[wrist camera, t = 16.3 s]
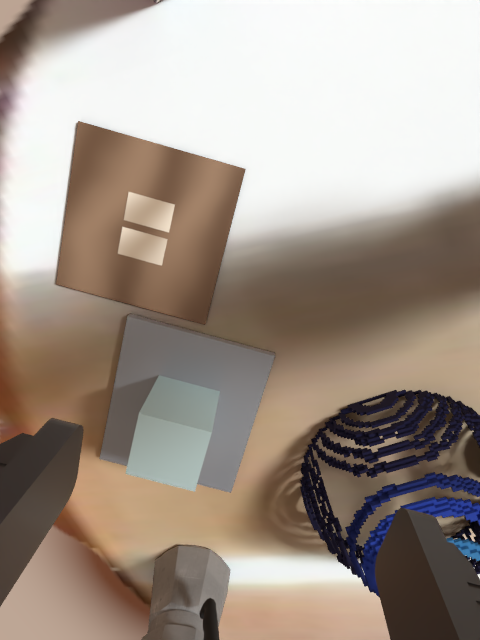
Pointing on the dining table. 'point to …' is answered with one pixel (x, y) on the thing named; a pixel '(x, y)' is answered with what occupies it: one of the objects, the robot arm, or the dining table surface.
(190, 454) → the pale green block
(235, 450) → the slate plate
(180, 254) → the brown coaster
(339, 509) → the dining table surface
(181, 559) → the coffeepot
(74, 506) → the dining table surface
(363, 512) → the decorative bowl
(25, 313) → the dining table surface
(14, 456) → the robot arm
